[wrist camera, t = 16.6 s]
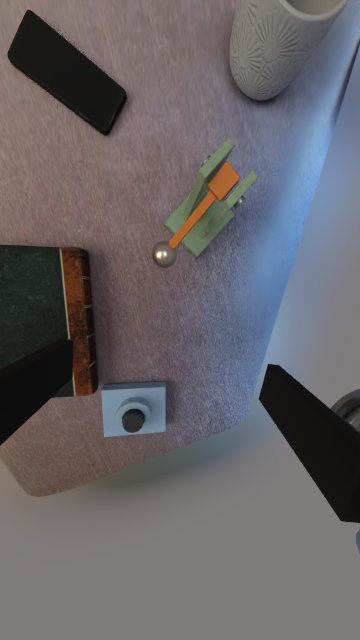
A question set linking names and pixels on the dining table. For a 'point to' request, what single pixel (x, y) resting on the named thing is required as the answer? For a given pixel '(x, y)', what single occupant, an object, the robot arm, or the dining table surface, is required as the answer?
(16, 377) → the robot arm
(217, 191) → the switch lever
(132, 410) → the button
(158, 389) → the button housing
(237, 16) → the planter
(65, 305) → the book
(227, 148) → the switch bracket
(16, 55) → the smartphone
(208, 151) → the dining table surface
